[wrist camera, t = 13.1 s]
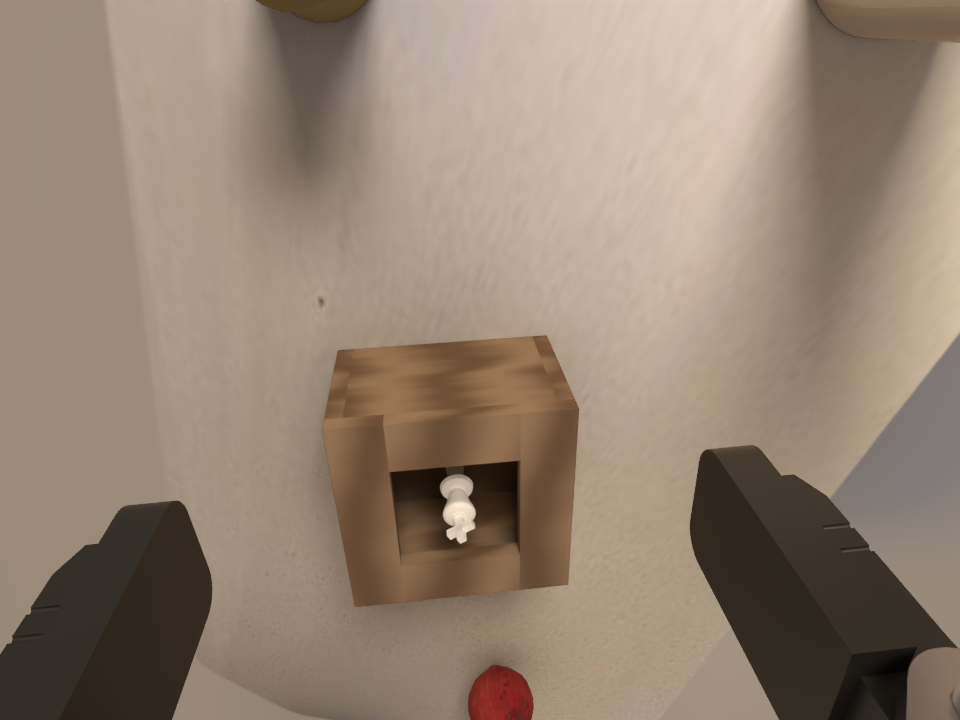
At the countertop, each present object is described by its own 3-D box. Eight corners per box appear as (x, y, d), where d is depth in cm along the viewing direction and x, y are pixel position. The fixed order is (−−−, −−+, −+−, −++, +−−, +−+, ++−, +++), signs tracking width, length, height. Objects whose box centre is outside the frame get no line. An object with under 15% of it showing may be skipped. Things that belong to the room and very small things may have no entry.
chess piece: (497, 440, 45) (518, 547, 37) (439, 469, 46) (446, 580, 38) (464, 393, 43) (478, 496, 34) (403, 425, 44) (402, 532, 35)
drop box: (546, 335, 42) (578, 408, 34) (542, 493, 49) (568, 584, 41) (338, 350, 41) (321, 429, 33) (363, 510, 48) (354, 607, 40)
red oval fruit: (496, 638, 57) (509, 725, 50) (538, 662, 59) (555, 748, 52) (452, 670, 58) (458, 758, 51) (494, 692, 61) (506, 780, 54)
